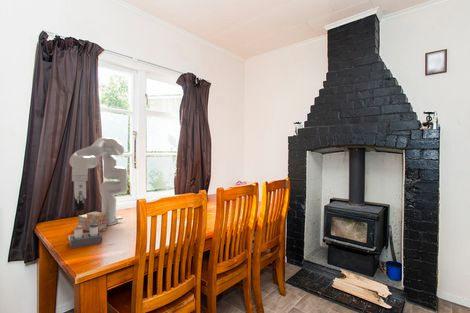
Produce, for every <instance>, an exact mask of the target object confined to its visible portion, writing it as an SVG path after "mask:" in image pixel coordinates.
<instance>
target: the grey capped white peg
mask: <svg viewBox="0 0 470 313" xmlns="http://www.w3.org/2000/svg"><path fill="white" fill-rule="evenodd" d="M89 233H90V237H92V236H98V224H97V223H94V224H90V231H89Z"/></svg>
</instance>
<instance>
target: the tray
mask: <svg viewBox="0 0 470 313" xmlns="http://www.w3.org/2000/svg"><path fill="white" fill-rule="evenodd" d="M87 233H88V232H85V233H84V232H83V234H87ZM70 236H74V234H70V235H68V237H67V238H68V241H69V242H70Z"/></svg>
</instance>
